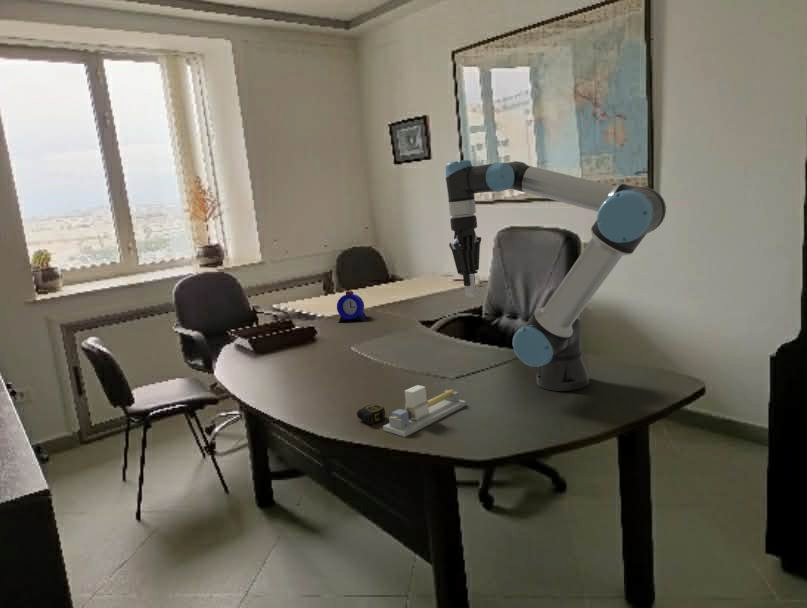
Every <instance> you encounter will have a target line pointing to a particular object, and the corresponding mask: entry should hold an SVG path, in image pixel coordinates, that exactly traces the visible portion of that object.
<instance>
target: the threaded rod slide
mask: <svg viewBox="0 0 807 608" xmlns="http://www.w3.org/2000/svg"><path fill="white" fill-rule="evenodd" d="M427 401H428V407H429V415H427V416H425V417H423V418H421V419H419V420H417V421H416V420H412V419H411V418H412V416H413V415H414V409H412V408H411V409H407V408H406V409H405V408H404V409H401V408H398V409H396V410H394V411H392V412H391V416H388V421H389V423H387V424H384V425H382V429H383V432H384V431H385V432H388V433H391V434H395V435H398V436H400V437H403V438H405V437H408V436H409V435H412V434H414V433H415V432H417V431H419V430H421V429H423V428H426V427H427V426H429V425H431V424H433V423H434V422H437V421H439V420H441V419H442V418H444V417H446V416H448V415H450V414H452V413H455V412H456V411H458V410H460V409H462V408H464V407H466V406H467V400H462V399H460V393H459V392H458V391H455V390H453V389H446V390H444V391H443V392H442V393H441V394H439V395H437V396H434V397H432V398H431V399H427Z"/></svg>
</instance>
